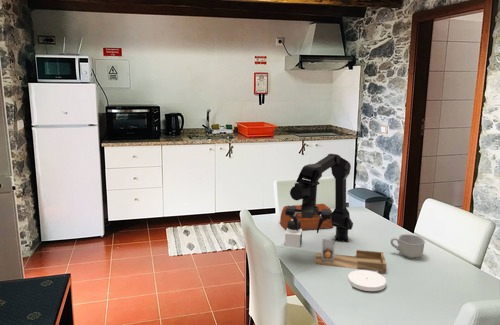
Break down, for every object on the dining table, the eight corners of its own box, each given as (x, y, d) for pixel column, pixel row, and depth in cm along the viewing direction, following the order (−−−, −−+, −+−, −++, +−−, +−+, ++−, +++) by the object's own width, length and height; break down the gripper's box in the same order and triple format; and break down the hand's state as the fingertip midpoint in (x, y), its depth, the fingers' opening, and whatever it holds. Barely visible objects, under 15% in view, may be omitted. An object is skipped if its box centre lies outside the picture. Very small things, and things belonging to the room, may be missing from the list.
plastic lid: (367, 273, 167) (367, 267, 167) (393, 288, 155) (394, 282, 154) (339, 280, 161) (340, 274, 160) (365, 297, 149) (365, 290, 148)
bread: (336, 228, 215) (337, 209, 213) (286, 232, 209) (287, 212, 207) (324, 219, 230) (325, 200, 228) (278, 222, 224) (278, 203, 222)
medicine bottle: (300, 249, 189) (301, 224, 186) (284, 247, 190) (285, 222, 188) (301, 243, 195) (302, 219, 193) (286, 241, 197) (287, 217, 194)
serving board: (316, 254, 183) (316, 246, 182) (382, 261, 177) (383, 252, 176) (314, 266, 171) (315, 257, 171) (385, 273, 166) (386, 264, 165)
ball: (324, 256, 178) (324, 250, 177) (331, 257, 177) (331, 250, 176) (323, 259, 175) (324, 252, 174) (331, 260, 174) (331, 253, 173)
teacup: (423, 253, 186) (425, 236, 184) (422, 262, 176) (424, 245, 174) (391, 247, 191) (392, 231, 190) (388, 256, 182) (389, 239, 180)
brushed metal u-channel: (321, 256, 179) (322, 239, 177) (333, 257, 178) (334, 240, 176) (321, 261, 174) (322, 243, 172) (333, 262, 173) (334, 244, 171)
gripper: (284, 198, 167) (282, 235, 169) (331, 203, 163) (329, 240, 166) (288, 192, 177) (286, 227, 180) (332, 196, 174) (329, 231, 176)
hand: (307, 231), depth 175 cm, fingers open, 8 cm apart
